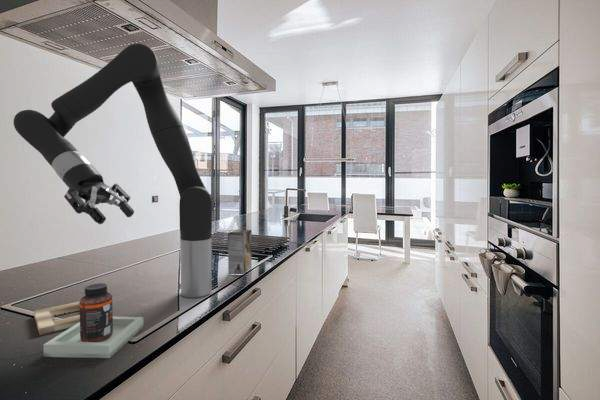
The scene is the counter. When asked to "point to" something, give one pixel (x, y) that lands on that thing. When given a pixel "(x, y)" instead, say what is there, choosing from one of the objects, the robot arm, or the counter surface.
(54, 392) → the counter surface
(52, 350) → the tray
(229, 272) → the coffee box
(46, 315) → the frame
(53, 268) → the counter surface
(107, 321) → the supplement bottle
